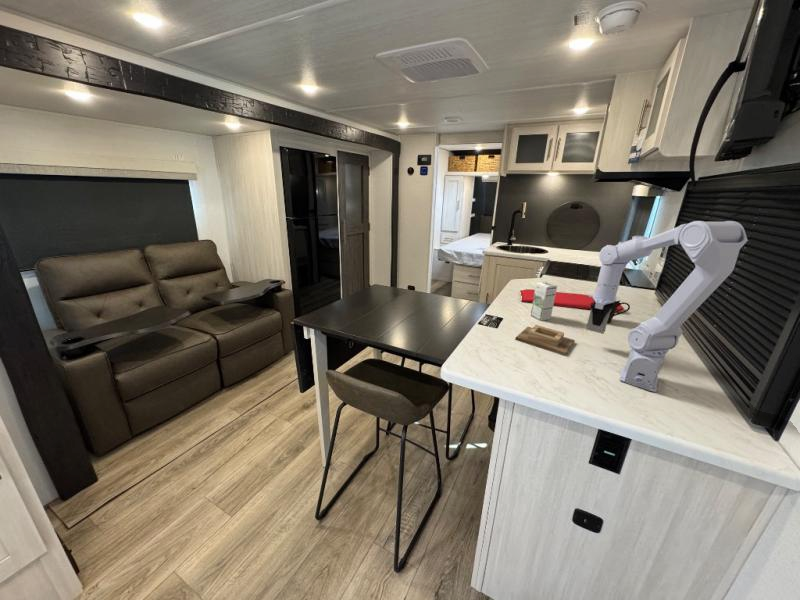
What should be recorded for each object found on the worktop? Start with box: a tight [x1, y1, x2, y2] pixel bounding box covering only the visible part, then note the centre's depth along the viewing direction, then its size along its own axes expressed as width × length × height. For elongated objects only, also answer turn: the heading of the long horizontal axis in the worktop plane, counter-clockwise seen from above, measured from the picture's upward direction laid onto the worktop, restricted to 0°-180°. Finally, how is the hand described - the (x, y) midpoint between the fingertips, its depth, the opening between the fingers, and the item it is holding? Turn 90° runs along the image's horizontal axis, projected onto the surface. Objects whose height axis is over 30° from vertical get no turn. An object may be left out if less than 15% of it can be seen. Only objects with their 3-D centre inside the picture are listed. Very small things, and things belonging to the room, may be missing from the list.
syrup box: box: [530, 281, 558, 321], centre depth 124 cm, size 6×6×14 cm
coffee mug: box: [607, 296, 631, 325], centre depth 122 cm, size 12×9×10 cm
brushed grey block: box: [585, 309, 610, 335], centre depth 100 cm, size 3×5×7 cm, turn 49°
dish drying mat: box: [519, 288, 624, 312], centre depth 144 cm, size 16×41×4 cm, turn 72°
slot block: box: [515, 324, 576, 357], centre depth 106 cm, size 12×16×4 cm
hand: (597, 323), depth 100 cm, fingers closed on brushed grey block, 3 cm apart
